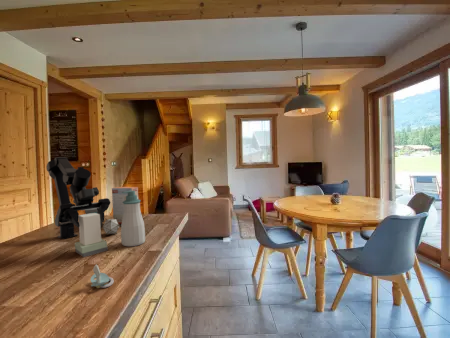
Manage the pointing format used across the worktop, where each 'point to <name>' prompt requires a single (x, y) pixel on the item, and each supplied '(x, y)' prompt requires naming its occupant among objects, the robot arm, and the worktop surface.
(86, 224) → the post
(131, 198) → the soap bottle
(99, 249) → the slab lower
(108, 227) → the game die
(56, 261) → the worktop surface
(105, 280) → the pacifier
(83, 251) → the slab upper
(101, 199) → the robot arm
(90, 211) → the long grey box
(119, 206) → the cracker box
